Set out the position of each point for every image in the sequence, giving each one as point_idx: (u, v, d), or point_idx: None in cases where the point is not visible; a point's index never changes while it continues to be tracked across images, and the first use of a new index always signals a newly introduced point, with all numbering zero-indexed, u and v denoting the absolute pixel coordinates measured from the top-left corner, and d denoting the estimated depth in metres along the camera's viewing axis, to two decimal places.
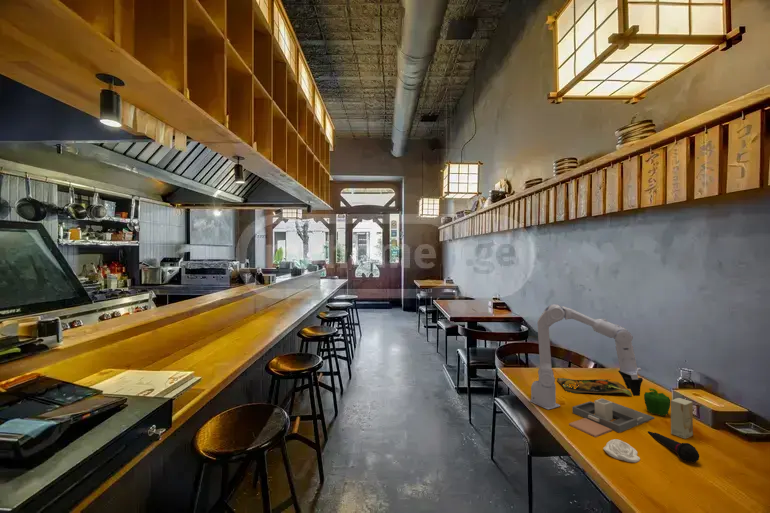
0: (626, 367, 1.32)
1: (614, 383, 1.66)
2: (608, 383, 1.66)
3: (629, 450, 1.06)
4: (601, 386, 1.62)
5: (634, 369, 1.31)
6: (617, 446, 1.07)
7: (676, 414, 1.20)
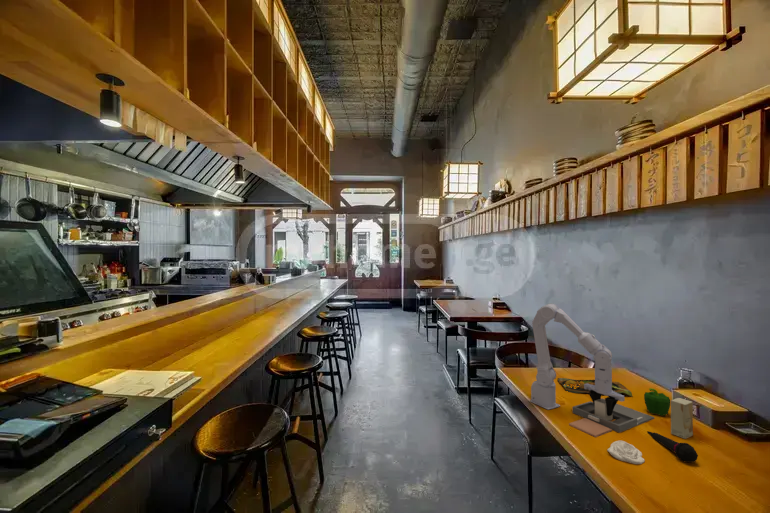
0: (608, 389, 1.30)
1: (615, 383, 1.66)
2: None
3: (634, 452, 1.06)
4: None
5: (611, 390, 1.31)
6: (621, 447, 1.07)
7: (676, 414, 1.20)
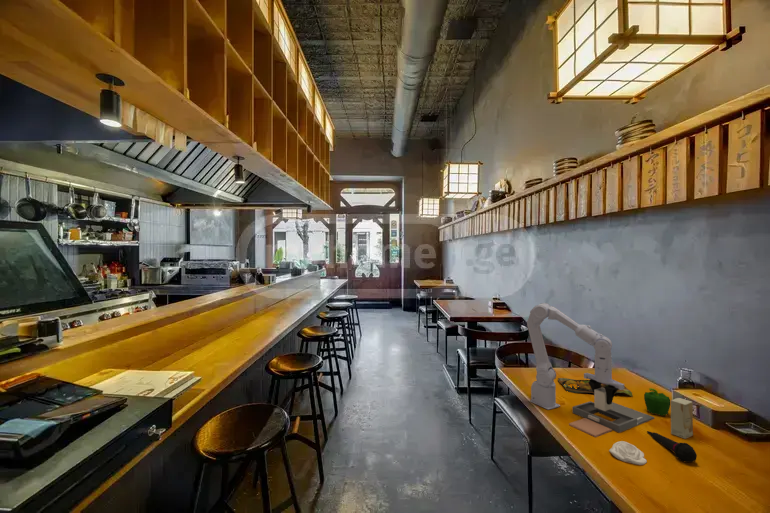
0: (607, 378, 1.30)
1: None
2: None
3: (636, 452, 1.05)
4: (602, 386, 1.62)
5: (611, 378, 1.31)
6: (623, 448, 1.06)
7: (676, 414, 1.20)
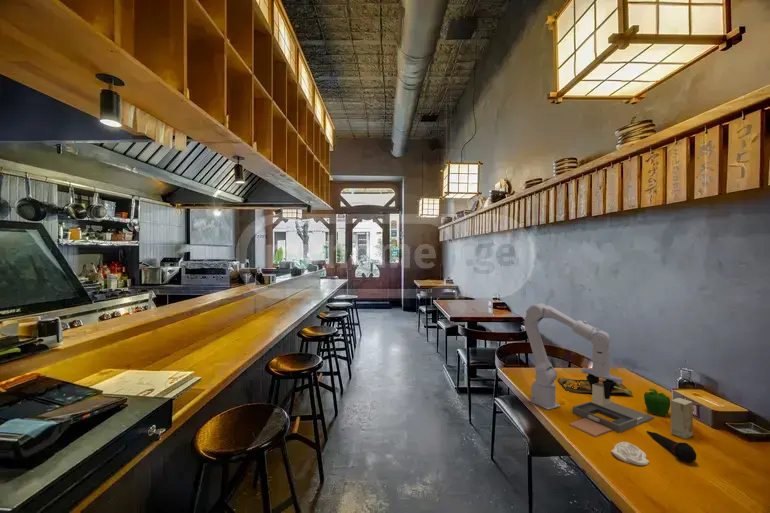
0: (605, 372, 1.29)
1: None
2: None
3: (638, 453, 1.05)
4: None
5: (609, 373, 1.30)
6: (625, 449, 1.06)
7: (676, 414, 1.20)
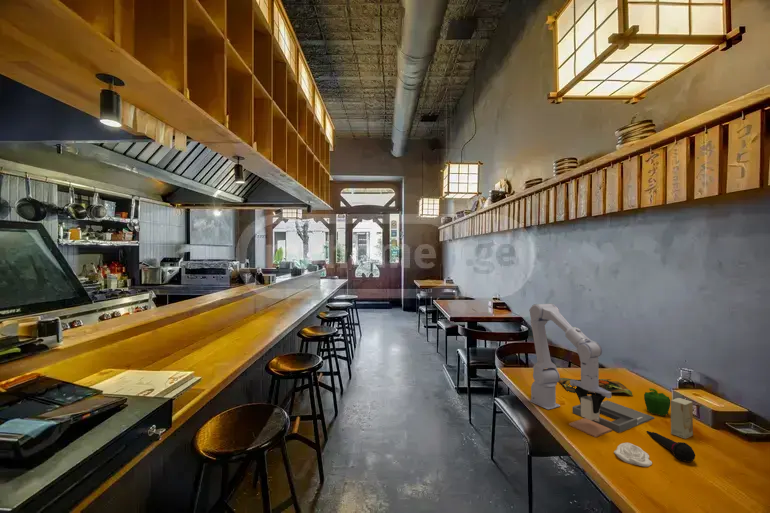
0: (594, 385, 1.23)
1: (615, 383, 1.66)
2: (609, 383, 1.66)
3: (641, 454, 1.04)
4: (602, 386, 1.62)
5: (598, 386, 1.24)
6: (628, 450, 1.05)
7: (676, 414, 1.20)
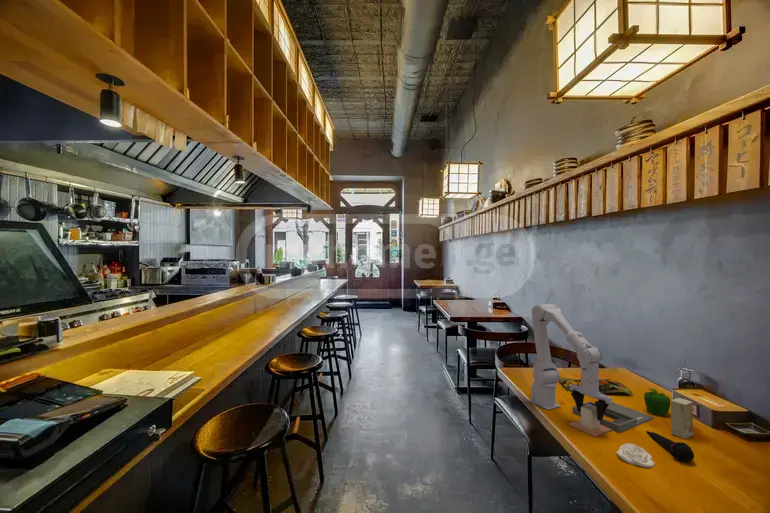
0: (594, 391, 1.23)
1: (615, 383, 1.66)
2: (609, 383, 1.67)
3: (643, 455, 1.04)
4: (602, 386, 1.63)
5: (598, 391, 1.24)
6: (631, 450, 1.05)
7: (676, 414, 1.20)
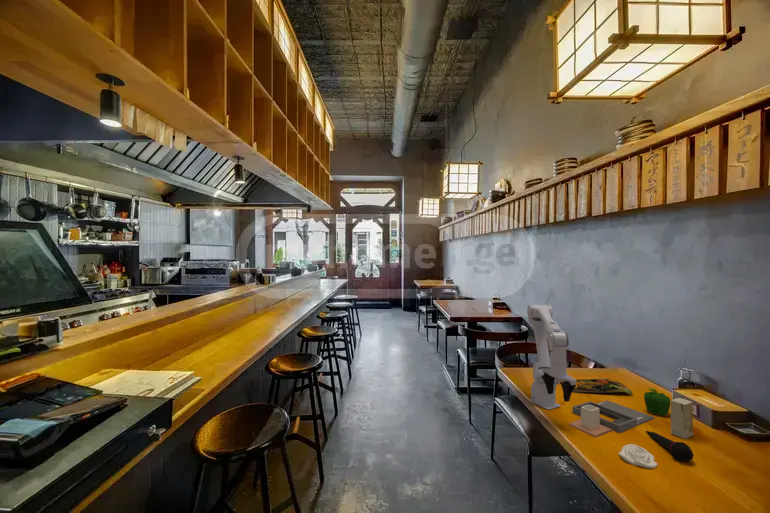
0: (561, 373, 1.28)
1: (615, 382, 1.67)
2: (609, 382, 1.67)
3: (646, 455, 1.03)
4: (602, 385, 1.63)
5: (566, 374, 1.29)
6: (633, 451, 1.04)
7: (676, 414, 1.20)
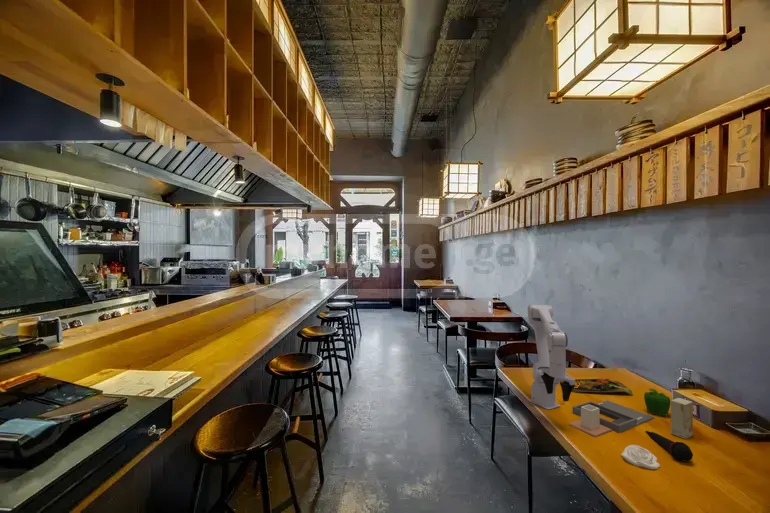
0: (560, 373, 1.28)
1: (614, 382, 1.67)
2: (609, 382, 1.67)
3: (649, 456, 1.03)
4: (602, 385, 1.63)
5: (565, 374, 1.29)
6: (636, 452, 1.04)
7: (676, 414, 1.20)
